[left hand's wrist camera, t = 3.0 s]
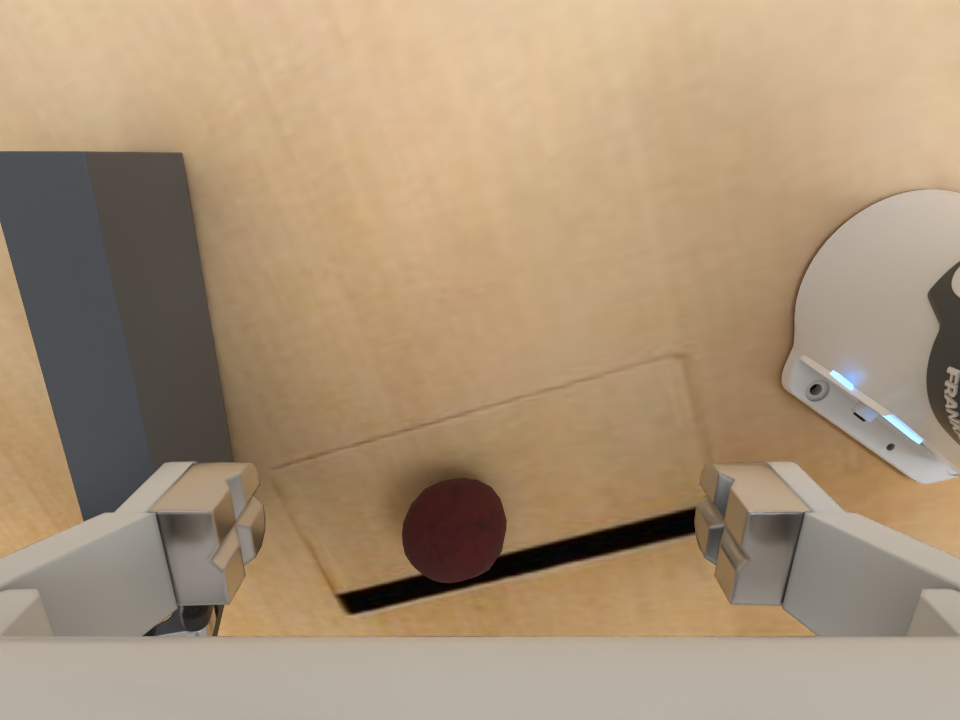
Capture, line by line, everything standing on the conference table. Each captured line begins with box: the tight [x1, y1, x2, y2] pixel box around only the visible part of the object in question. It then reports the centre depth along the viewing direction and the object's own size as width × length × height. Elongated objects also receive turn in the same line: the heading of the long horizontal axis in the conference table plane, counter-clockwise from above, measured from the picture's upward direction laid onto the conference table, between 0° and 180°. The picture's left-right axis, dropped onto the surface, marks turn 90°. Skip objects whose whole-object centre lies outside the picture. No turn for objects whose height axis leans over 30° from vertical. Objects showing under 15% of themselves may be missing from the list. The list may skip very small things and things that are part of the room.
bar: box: [0, 151, 233, 521], centre depth 35 cm, size 27×5×9 cm, turn 0°
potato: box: [402, 478, 506, 583], centre depth 41 cm, size 7×8×7 cm
